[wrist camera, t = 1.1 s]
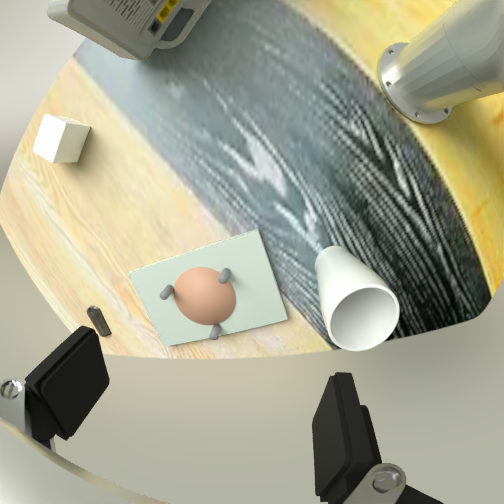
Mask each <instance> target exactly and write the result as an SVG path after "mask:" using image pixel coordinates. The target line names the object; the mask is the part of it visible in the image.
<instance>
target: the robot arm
mask: <svg viewBox="0 0 504 504" xmlns="http://www.w3.org/2000/svg"><path fill="white" fill-rule="evenodd" d="M378 77H379V82H380V84H381V87H382V89H383V91H384V93H385V95H386V97H387V98H388V99H389V101H390V102H391V103H392V105H393V106H394V107H395V108H396V109H397V110H398V111H399V112H401V113H402V114H403V115H404V116H406V117H408V118H409V119H411V120H413V121H416V122H418V123H422V124H435V123H439V122H441V121H443V120H445V119H446V118H447V117H448V116H449V115H450V113H451V111H452V109H453V106H455V105H458V104H461V103H465V102H468V101H472V100H475V99H479V98H482V97H486V96H490V95H494V94H498V93H502V92H504V0H458V1H457V2H456V3H455V4H453V5H452V6H451V7H450V8H449V9H447V10H446V11H445V12H444V13H443V14H442V15H440V16H439V17H438V18H437V19H436V20H435V21H433V22H432V23H431V24H430V25H429V26H428V27H427V28H425V29H424V30H423V31H422V32H421V33H420V34H419V35H418V36H417V37H415V38H414V39H413V40H412V41H411V42H410V43H395V44H393V45H391V46H389V47H388V48H387V49H385V51H384V52H383V53H382V54H381V56H380V58H379V61H378ZM386 85H387V86H386ZM415 115H416V116H415ZM25 381H26V384H25V385H24V383H23V382H22V381H21V380H20V379H18V378H8V379H6V380H4V381H3V382H1V384H0V504H169V503H165V502H162V501H159V500H156V499H153V498H149V497H147V496H144V495H141V494H138V493H136V492H133V491H130V490H128V489H125V488H123V487H120V486H118V485H116V484H113V483H111V482H109V481H106V480H105V479H102V478H100V477H98V476H96V475H94V474H92V473H90V472H88V471H86V470H84V469H82V468H80V467H79V466H77V465H75V464H73V463H71V462H69V461H68V460H66V459H64V458H63V457H61V456H59V455H58V454H56V450H55V443H54V435H55V434H57V435H58V436H59V437H61V438H62V439H64V440H67V439H68V438H69V437H71V436H73V435H74V433H75V432H76V430H77V429H78V428H79V426H80V425H81V424H82V422H83V421H84V419H85V418H86V416H87V415H88V413H89V412H90V411H91V409H92V408H93V406H94V405H95V403H96V402H97V401H98V399H99V398H100V397H101V395H102V394H103V392H104V391H105V390H106V388H107V387H108V385H109V376H108V373H107V369H106V365H105V362H104V358H103V354H102V350H101V346H100V342H99V337H98V335H97V334H96V332H95V330H94V329H92V328H89V327H86V326H80V327H79V328H78V329H77V330H76V331H75V332H74V333H72V334H71V335H70V336H69V337H68V338H67V339H66V340H65V341H64V342H63V343H61V344H60V345H59V346H58V347H57V348H56V349H55V350H54V351H53V352H52V353H51V354H50V355H49V356H48V357H47V358H46V359H44V360H43V361H42V362H41V363H40V364H39V365H38V366H37V367H36V368H35V369H34V370H33V371H32V372H31V373H30V374H29V375H28V376H27V377H26V378H25ZM312 433H313V449H314V467H315V493H316V496H320V501H321V502H328V504H443V503H442V502H440V501H438V500H436V499H434V498H432V497H430V496H428V495H425V494H424V493H421V492H420V491H418V490H416V489H414V488H412V487H410V486H408V485H406V476H405V473H404V471H403V470H402V469H401V468H400V467H398V466H397V465H394V464H391V463H382V460H381V456H380V452H379V448H378V445H377V440H376V436H375V432H374V428H373V425H372V421H371V418H370V414H369V411H368V408H367V407H366V406H365V405H360V402H359V398H358V395H357V391H356V388H355V384H354V380H353V377H352V374H351V373H342V372H341V373H340V372H336V373H335V375H334V376H330V377H329V380H328V382H327V385H326V388H325V391H324V394H323V396H322V398H321V401H320V403H319V406H318V408H317V411H316V413H315V416H314V418H313V422H312Z"/></svg>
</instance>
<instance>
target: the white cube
mask: <svg viewBox="0 0 504 504" xmlns="http://www.w3.org/2000/svg"><path fill="white" fill-rule="evenodd" d="M89 130H90V126H88V125H86V124H84V123H81V122H79V121H76V120H74V119H72V118H69V117H64V116H58V115H51V114H45V115H44V117H43V120H42V123H41V126H40V129H39V132H38V135H37V138H36V141H35V144H34V148H33V152H35V153H37V154H38V155H40V156H42V157H43V158H45V159H47V160H48V161H50V162H52V163H69V162H78V159H79V156H80V154H81V151H82V148H83V145H84V143H85V140H86V137H87V135H88V132H89Z"/></svg>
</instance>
